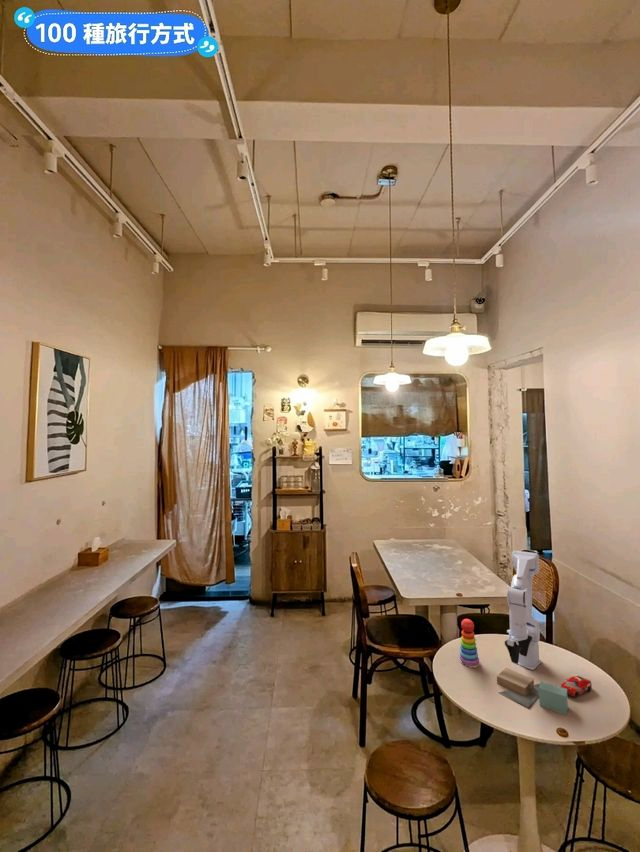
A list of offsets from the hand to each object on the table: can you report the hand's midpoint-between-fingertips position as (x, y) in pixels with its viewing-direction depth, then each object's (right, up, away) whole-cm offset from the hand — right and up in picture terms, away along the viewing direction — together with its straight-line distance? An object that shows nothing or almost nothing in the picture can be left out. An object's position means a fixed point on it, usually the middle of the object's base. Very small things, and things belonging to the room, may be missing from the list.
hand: (519, 658), depth 147 cm
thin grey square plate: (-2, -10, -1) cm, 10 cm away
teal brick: (+6, -10, -11) cm, 16 cm away
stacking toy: (-13, -11, +14) cm, 22 cm away
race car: (+17, -12, -6) cm, 21 cm away
